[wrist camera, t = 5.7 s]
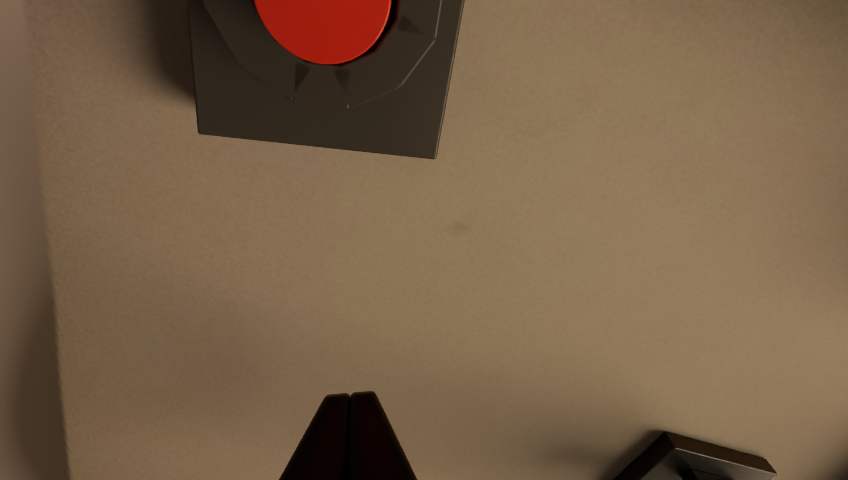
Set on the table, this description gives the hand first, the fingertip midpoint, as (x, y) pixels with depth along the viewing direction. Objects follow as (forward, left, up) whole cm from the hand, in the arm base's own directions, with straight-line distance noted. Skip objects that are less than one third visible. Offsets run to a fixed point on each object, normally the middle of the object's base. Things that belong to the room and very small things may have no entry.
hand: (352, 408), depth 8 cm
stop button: (-1, +6, -9) cm, 11 cm away
